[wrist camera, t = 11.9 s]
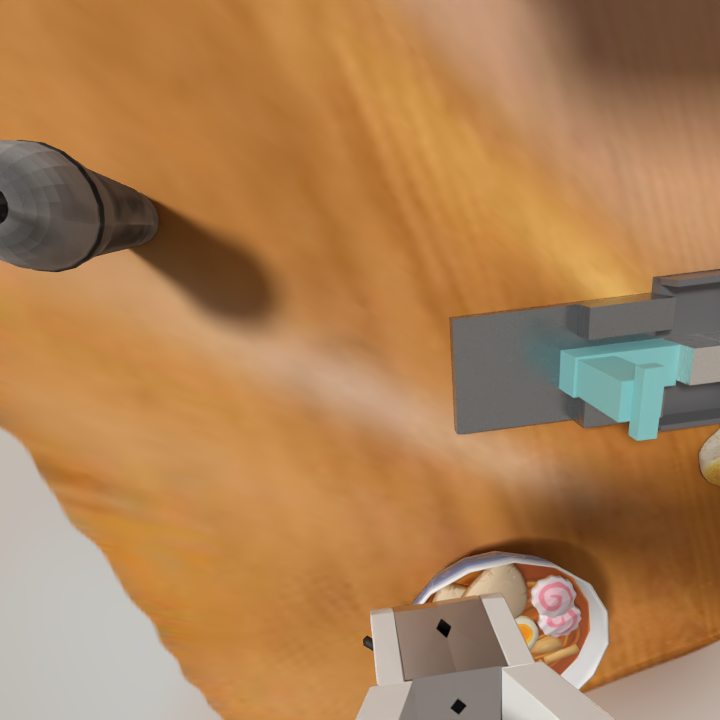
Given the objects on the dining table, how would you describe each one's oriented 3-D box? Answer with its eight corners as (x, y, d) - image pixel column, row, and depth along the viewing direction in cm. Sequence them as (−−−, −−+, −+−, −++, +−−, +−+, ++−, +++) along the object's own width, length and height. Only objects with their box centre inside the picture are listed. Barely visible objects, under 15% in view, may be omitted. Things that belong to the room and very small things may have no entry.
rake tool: (561, 340, 40) (629, 370, 31) (661, 328, 40) (757, 355, 31) (558, 397, 41) (622, 442, 32) (654, 385, 42) (744, 427, 33)
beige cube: (660, 338, 40) (694, 348, 36) (694, 334, 40) (732, 344, 37) (656, 371, 41) (689, 385, 37) (689, 367, 41) (726, 380, 38)
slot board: (449, 317, 39) (458, 323, 36) (651, 292, 40) (676, 296, 37) (454, 430, 43) (463, 443, 40) (640, 405, 43) (662, 417, 41)
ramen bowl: (612, 589, 51) (663, 653, 43) (474, 693, 54) (498, 770, 46) (484, 468, 44) (516, 518, 37) (337, 595, 48) (339, 665, 40)
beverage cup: (135, 278, 36) (-83, 324, 17) (67, 211, 35) (-261, 180, 15) (193, 223, 35) (31, 208, 16) (127, 151, 34) (-144, 38, 14)
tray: (653, 277, 40) (678, 280, 37) (743, 266, 40) (774, 268, 37) (639, 418, 44) (660, 431, 41) (720, 407, 44) (747, 419, 41)
